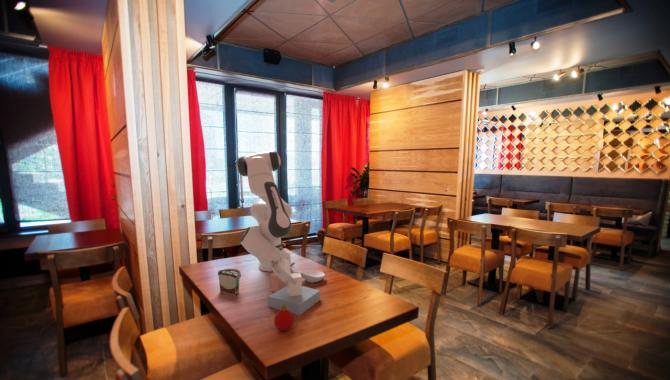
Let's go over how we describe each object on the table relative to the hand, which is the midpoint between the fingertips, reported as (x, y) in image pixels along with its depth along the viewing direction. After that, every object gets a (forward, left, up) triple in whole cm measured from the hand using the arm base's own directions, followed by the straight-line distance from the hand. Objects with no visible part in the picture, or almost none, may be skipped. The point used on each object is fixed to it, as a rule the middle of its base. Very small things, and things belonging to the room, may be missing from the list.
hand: (295, 278), depth 129 cm
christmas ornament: (+19, +9, -11) cm, 24 cm away
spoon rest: (-21, -10, -11) cm, 26 cm away
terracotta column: (-7, -15, -11) cm, 20 cm away
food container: (+5, -33, -11) cm, 35 cm away
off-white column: (0, 0, -6) cm, 6 cm away
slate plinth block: (0, 0, -11) cm, 11 cm away
